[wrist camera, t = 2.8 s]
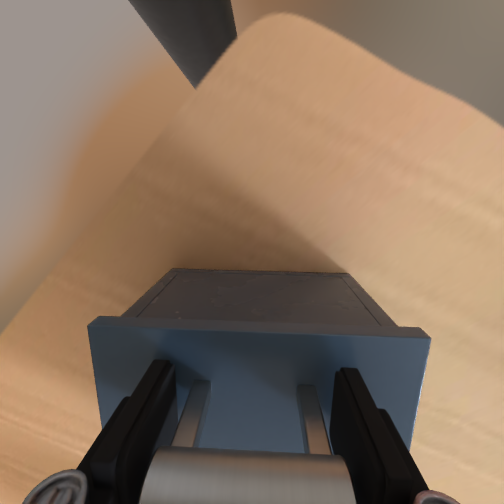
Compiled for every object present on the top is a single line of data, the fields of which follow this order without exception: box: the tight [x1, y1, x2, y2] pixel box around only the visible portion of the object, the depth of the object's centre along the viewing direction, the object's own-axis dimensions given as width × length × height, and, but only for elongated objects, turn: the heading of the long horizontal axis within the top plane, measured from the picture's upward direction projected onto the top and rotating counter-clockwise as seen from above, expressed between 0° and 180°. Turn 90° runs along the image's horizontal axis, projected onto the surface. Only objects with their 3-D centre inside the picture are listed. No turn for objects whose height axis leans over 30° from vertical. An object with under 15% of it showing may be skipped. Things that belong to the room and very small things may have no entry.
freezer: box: [120, 269, 398, 327], centre depth 17 cm, size 16×13×9 cm
